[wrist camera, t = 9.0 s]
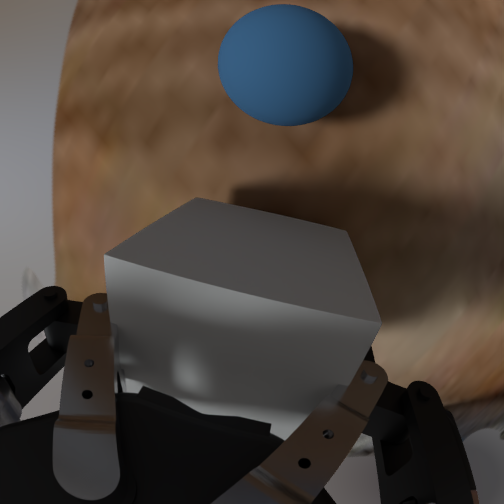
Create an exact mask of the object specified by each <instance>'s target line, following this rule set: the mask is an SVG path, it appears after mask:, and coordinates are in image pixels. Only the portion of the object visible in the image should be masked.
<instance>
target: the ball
mask: <svg viewBox="0 0 504 504" xmlns="http://www.w3.org/2000/svg"><path fill="white" fill-rule="evenodd" d="M218 70H219V76H220V80H221V82H222V85H223V87H224V89H225V91H226V93H227V94H228V96H229V97H230V98H231V100H232V101H233V102H234V103H235V104H236V105H237V106H238V107H239V108H240V109H241V110H243V111H244V112H245V113H247V114H248V115H250V116H252V117H253V118H255V119H258V120H260V121H263V122H266V123H270V124H274V125H279V126H296V125H303V124H307V123H311V122H314V121H316V120H319V119H320V118H322V117H324V116H326V115H327V114H329V113H330V112H331V111H333V110H334V109H335V108H336V107H337V106H338V105H339V104H340V103H341V101H342V100H343V99H344V97H345V95H346V94H347V92H348V89H349V87H350V84H351V81H352V76H353V60H352V55H351V51H350V48H349V46H348V43H347V41H346V39H345V38H344V36H343V35H342V33H341V32H340V31H339V29H338V28H337V27H336V26H335V25H334V24H333V23H332V22H330V21H329V20H328V19H327V18H325V17H324V16H322V15H321V14H319V13H317V12H315V11H312V10H310V9H307V8H304V7H301V6H296V5H286V4H280V5H271V6H266V7H262V8H259V9H256V10H254V11H252V12H250V13H248V14H246V15H245V16H243V17H242V18H240V19H239V20H238V21H237V22H236V23H235V24H234V25H233V26H232V27H231V28H230V29H229V31H228V32H227V34H226V35H225V37H224V39H223V41H222V44H221V47H220V51H219V55H218Z"/></svg>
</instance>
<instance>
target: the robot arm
mask: <svg viewBox="0 0 504 504" xmlns="http://www.w3.org/2000/svg"><path fill="white" fill-rule="evenodd" d="M43 330H44V332H45V335H46V338H45V339H44V340H43V341H42V342H41V343H40V344H39V345H37V346H36V347H35V348H34V349H33V350H32V351H30V352H28V345H29V342H30V341H31V340H32V339H33V338H34V337H35V336H37V335H38V334H39V333H40V332H41V331H43ZM64 366H65V367H64ZM63 367H64V374H63V381H62V390H61V399H60V410H58V411H55V412H52V413H48V414H45V415H41V416H38V417H34V418H30V419H26V420H22V421H21V420H20V417H21V414H22V409H23V408H24V406H26V404H28V403H29V401H30V400H31V399H32V398H33V397H34V396H35V395H36V394H37V393H38V392H39V391H40V390H41V389H42V388H43V387H44V386H45V385H46V384H47V383H48V382H49V381H50V380H51V379H52V378H53V377H54V376H55V375H56V374H57V373H58V372H59V371H60V370H61V369H62V368H63ZM270 430H271V423H266V422H261V421H257V420H252V419H248V418H244V417H240V416H224V415H210V414H202V413H200V412H198V411H196V410H194V409H193V408H191V407H189V406H187V405H186V404H184V403H182V402H181V401H179V400H177V399H176V398H174V397H172V396H169V395H167V394H164V393H161V392H158V391H156V390H153V389H151V388H148V387H145V386H142V388H141V389H140V391H139V393H129V392H127V389H126V377H125V371H124V369H121V365H120V358H119V334H118V326H117V324H114V323H112V322H110V316H109V308H108V299H107V293H96V294H92V295H90V296H88V297H87V298H86V299H85V300H84V301H83V302H78V301H71V300H68V299H67V294H66V291H65V290H64V289H63V288H61V287H58V286H49V287H45V288H43V289H41V290H39V291H38V292H36V293H35V294H33V295H32V296H30V297H29V298H27V299H26V300H24V301H23V302H22V303H20V304H19V305H18V306H16V307H15V308H13V309H12V310H10V311H9V312H8V313H6V314H5V315H3V316H2V317H1V318H0V504H336V503H335V501H334V500H333V499H332V497H331V496H330V495H329V494H328V492H327V491H326V490H325V488H324V486H325V485H326V484H327V482H328V481H329V480H330V478H331V477H332V476H333V474H334V473H335V472H336V470H337V469H338V468H339V466H340V465H341V463H342V462H343V461H344V459H345V458H346V456H347V455H348V453H349V452H350V450H351V449H352V447H353V446H354V444H355V443H356V441H357V439H358V438H359V436H360V435H361V433H363V434H366V435H368V436H371V437H372V440H373V446H374V453H375V459H376V466H377V474H378V481H379V489H380V498H381V504H474V502H473V497H472V493H471V489H470V485H469V482H468V478H467V474H466V471H465V467H464V464H463V461H462V458H461V454H460V451H459V448H458V445H457V442H456V439H455V436H454V434H453V431H452V428H451V425H450V422H449V420H448V417H447V414H446V412H445V409H444V407H443V404H442V402H441V399H440V397H439V394H438V392H437V391H436V390H435V388H434V387H433V386H431V385H430V384H428V383H426V382H423V381H414V382H412V383H411V384H410V385H409V386H408V388H407V389H406V388H403V387H401V386H398V385H395V384H393V383H391V382H389V381H388V376H387V373H386V372H385V370H384V369H383V368H382V367H381V366H379V365H378V364H376V363H375V360H374V355H373V351H372V347H370V349H369V350H368V352H367V354H366V356H365V358H364V360H363V362H362V363H361V365H360V367H359V369H358V370H357V372H356V374H355V376H354V377H353V379H352V381H351V383H350V384H349V386H346V385H339V384H338V385H337V386H336V388H335V389H334V390H333V391H332V393H331V394H330V395H326V396H325V397H324V399H323V400H322V401H321V402H320V403H319V404H318V406H317V407H316V408H315V409H314V410H313V411H312V412H311V414H310V415H309V416H308V417H307V418H306V419H305V420H304V421H303V422H302V423H301V424H300V426H299V427H298V428H297V429H296V430H295V431H294V432H293V433H292V434H291V435H290V436H289V437H288V438H287V439H286V440H283V439H282V438H280V437H278V436H276V435H274V434H272V433H270ZM409 437H410V439H411V442H412V447H413V451H412V447H411V443H410V439H409Z"/></svg>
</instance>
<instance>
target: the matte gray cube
mask: <svg viewBox="0 0 504 504" xmlns="http://www.w3.org/2000/svg"><path fill="white" fill-rule="evenodd" d="M104 264H105V278H106V289H107V299H108V308H109V316H110V322H112V323H114V324H117V326H118V334H119V358H120V365H121V369H124V371H125V377H126V389H127V392H129V393H139V391H140V389H141V388H142V386H145V387H148V388H151V389H153V390H156V391H158V392H161V393H164V394H167V395H169V396H172V397H174V398H176V399H177V400H179V401H181V402H182V403H184V404H186V405H187V406H189V407H191V408H193V409H194V410H196V411H198V412H200V413H202V414H210V415H224V416H240V417H244V418H248V419H252V420H257V421H261V422H266V423H271V430H270V433H272V434H274V435H276V436H278V437H280V438H282V439H283V440H286V439H287V438H288V437H289V436H290V435H291V434H292V433H293V432H294V431H295V430H296V429H297V428H298V427H299V426H300V424H301V423H302V422H303V421H304V420H305V419H306V418H307V417H308V416H309V415H310V414H311V412H312V411H313V410H314V409H315V408H316V407H317V406H318V404H319V403H320V402H321V401H322V400H323V399H324V397H325V396H326V395H330V394H331V393H332V391H333V390H334V389H335V388H336V386H337V385H338V384H339V385H346V386H349V384H350V383H351V381H352V379H353V377H354V376H355V374H356V372H357V370H358V369H359V367H360V365H361V363H362V362H363V360H364V358H365V356H366V354H367V352H368V350H369V349H370V347H371V345H372V343H373V341H374V339H375V337H376V335H377V333H378V331H379V329H380V327H381V325H382V321H381V318H380V315H379V312H378V310H377V307H376V304H375V301H374V298H373V296H372V293H371V290H370V288H369V285H368V282H367V280H366V277H365V274H364V272H363V269H362V267H361V264H360V262H359V259H358V257H357V254H356V252H355V250H354V247H353V245H352V242H351V240H350V238H349V235H348V233H347V231H345V230H341V229H337V228H333V227H329V226H325V225H321V224H317V223H313V222H309V221H305V220H300V219H296V218H292V217H287V216H283V215H279V214H274V213H270V212H265V211H261V210H256V209H251V208H247V207H242V206H237V205H233V204H228V203H223V202H218V201H213V200H208V199H203V198H198V197H196V198H194V199H192V200H191V201H189V202H187V203H186V204H184V205H182V206H180V207H179V208H177V209H175V210H174V211H172V212H170V213H169V214H167V215H165V216H164V217H162V218H160V219H159V220H157V221H155V222H154V223H152V224H150V225H149V226H147V227H146V228H144V229H142V230H141V231H139V232H138V233H136V234H135V235H133V236H131V237H130V238H128V239H127V240H125V241H124V242H122V243H121V244H119V245H118V246H116V247H114V248H113V249H111V250H110V251H108V252H107V253H105V254H104Z"/></svg>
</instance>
